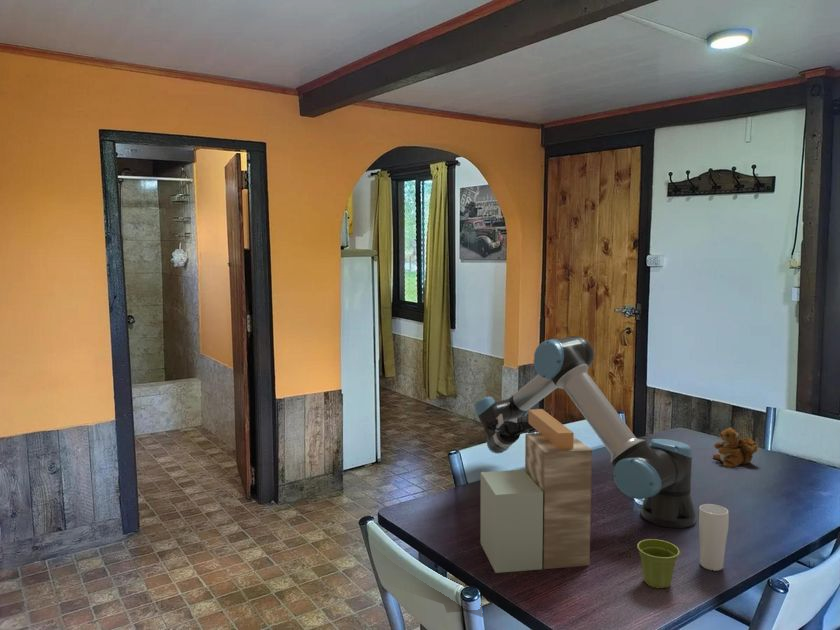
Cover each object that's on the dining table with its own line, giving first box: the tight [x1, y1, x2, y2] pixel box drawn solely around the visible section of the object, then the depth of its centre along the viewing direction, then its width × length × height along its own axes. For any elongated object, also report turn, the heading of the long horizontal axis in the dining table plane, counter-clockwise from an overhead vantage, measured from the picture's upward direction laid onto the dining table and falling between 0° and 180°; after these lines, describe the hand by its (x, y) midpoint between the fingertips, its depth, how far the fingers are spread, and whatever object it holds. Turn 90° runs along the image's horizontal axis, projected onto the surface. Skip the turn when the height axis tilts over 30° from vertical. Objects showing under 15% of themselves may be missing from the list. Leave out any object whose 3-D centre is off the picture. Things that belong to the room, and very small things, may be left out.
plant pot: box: [636, 538, 680, 589], centre depth 150 cm, size 9×9×9 cm
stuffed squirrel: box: [712, 426, 759, 468], centre depth 233 cm, size 10×14×13 cm
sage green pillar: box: [480, 469, 543, 574], centre depth 163 cm, size 16×12×20 cm
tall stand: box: [524, 432, 593, 570], centre depth 164 cm, size 16×12×30 cm
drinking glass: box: [698, 503, 730, 572], centre depth 157 cm, size 7×7×15 cm
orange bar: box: [527, 408, 575, 449], centre depth 168 cm, size 24×4×4 cm, turn 8°
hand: (523, 417), depth 191 cm, fingers open, 13 cm apart
